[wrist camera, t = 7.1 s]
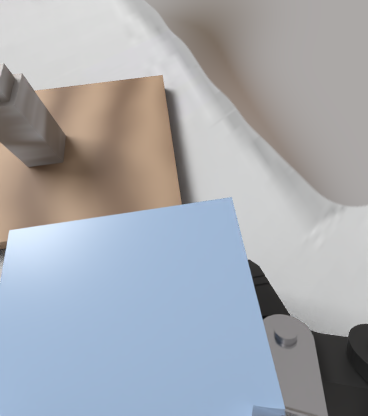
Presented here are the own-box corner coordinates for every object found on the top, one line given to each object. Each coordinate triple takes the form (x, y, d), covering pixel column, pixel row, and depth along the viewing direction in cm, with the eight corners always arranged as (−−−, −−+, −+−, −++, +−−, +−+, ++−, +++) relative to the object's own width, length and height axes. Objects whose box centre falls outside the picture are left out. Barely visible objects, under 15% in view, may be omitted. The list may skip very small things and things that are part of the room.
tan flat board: (164, 87, 25) (151, -11, 18) (184, 223, 19) (178, 160, 11) (-41, 113, 25) (-146, 22, 17) (-94, 262, 18) (-304, 225, 11)
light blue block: (210, 264, 14) (231, 197, 6) (230, 373, 12) (313, 519, 4) (119, 278, 14) (9, 230, 6) (122, 390, 12) (-52, 580, 4)
